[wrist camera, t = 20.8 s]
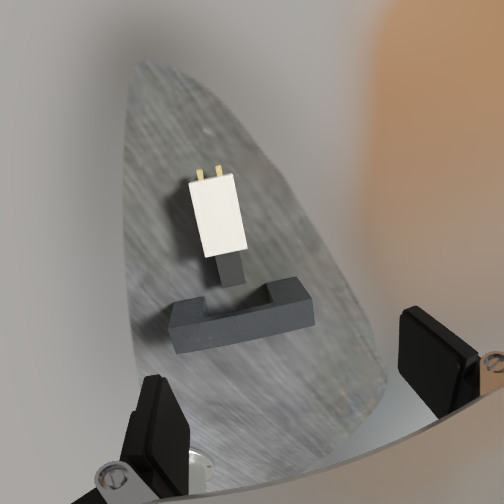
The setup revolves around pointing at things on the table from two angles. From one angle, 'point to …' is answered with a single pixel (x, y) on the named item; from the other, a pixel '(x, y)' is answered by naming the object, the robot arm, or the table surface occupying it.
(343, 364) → the table surface
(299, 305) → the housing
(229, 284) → the plug
